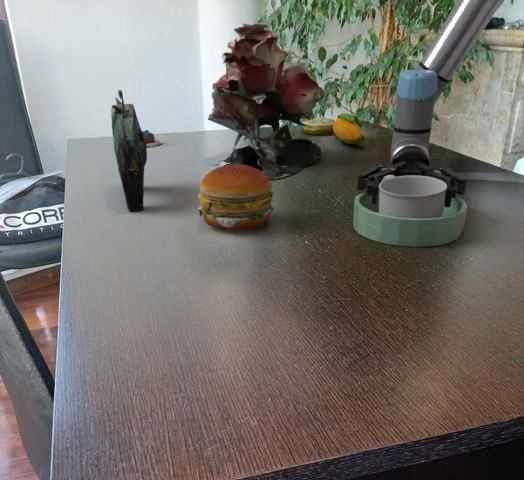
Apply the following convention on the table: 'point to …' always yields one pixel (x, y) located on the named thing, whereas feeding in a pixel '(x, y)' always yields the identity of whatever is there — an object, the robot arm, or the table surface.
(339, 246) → the table surface
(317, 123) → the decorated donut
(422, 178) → the teacup
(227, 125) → the rose bouquet
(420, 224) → the bowl
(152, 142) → the dessert
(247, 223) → the burger
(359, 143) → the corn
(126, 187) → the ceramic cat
